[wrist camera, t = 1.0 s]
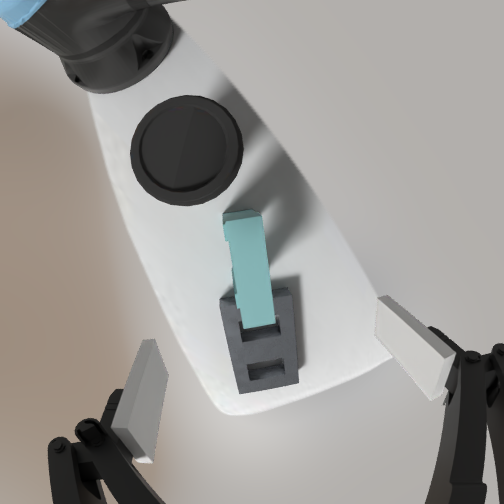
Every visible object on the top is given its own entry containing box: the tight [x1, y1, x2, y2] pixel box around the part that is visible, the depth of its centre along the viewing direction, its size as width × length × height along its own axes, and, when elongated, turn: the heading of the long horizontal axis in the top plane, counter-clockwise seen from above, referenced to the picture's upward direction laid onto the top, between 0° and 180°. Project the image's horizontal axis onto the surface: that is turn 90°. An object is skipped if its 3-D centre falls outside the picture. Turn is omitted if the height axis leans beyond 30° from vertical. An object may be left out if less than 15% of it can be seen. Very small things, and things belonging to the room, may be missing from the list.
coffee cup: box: [130, 95, 244, 206], centre depth 24 cm, size 8×8×15 cm
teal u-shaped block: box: [223, 209, 276, 329], centre depth 29 cm, size 10×4×11 cm, turn 8°
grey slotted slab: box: [220, 287, 299, 394], centre depth 37 cm, size 15×9×2 cm, turn 8°
